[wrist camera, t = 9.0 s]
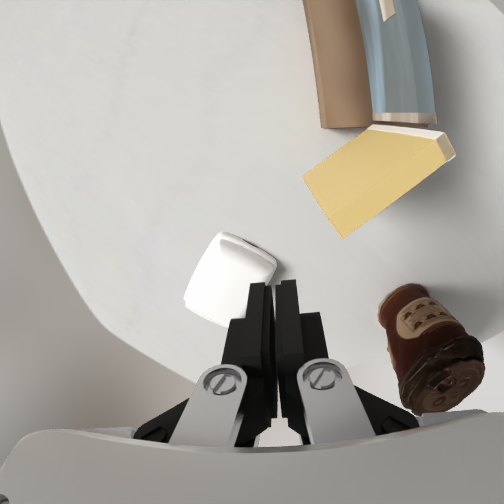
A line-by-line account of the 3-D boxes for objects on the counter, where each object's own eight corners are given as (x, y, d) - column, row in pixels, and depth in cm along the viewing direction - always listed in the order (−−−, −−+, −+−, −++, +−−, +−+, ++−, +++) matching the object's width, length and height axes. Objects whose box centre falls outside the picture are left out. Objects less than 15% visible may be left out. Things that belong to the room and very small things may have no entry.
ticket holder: (393, -11, 18) (445, -55, 9) (415, 126, 24) (484, 135, 14) (299, -17, 19) (315, -78, 9) (321, 127, 25) (355, 132, 15)
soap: (218, 225, 29) (214, 236, 26) (282, 258, 30) (284, 272, 27) (181, 296, 32) (174, 312, 30) (238, 324, 33) (236, 341, 31)
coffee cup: (369, 277, 30) (417, 366, 18) (439, 265, 29) (505, 338, 17) (367, 343, 33) (398, 432, 22) (429, 329, 33) (475, 407, 21)
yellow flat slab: (382, 137, 21) (456, 155, 12) (311, 189, 23) (342, 239, 14) (373, 123, 21) (444, 131, 11) (301, 176, 23) (327, 217, 13)
